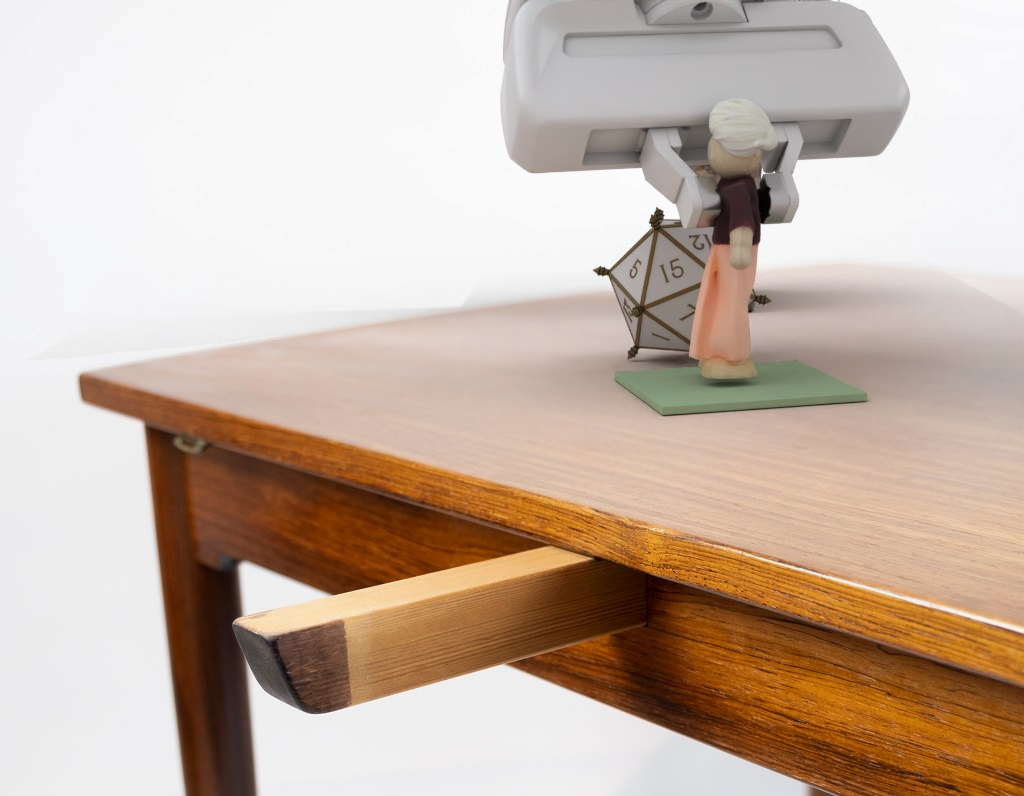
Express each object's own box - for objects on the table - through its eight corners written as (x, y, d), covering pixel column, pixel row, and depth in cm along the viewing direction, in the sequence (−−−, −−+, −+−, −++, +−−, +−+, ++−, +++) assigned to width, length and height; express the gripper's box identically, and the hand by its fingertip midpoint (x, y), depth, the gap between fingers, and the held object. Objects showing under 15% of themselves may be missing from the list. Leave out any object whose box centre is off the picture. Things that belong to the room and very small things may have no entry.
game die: (653, 421, 87) (606, 269, 89) (795, 365, 85) (743, 211, 87) (613, 367, 79) (562, 201, 81) (769, 304, 77) (712, 135, 79)
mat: (797, 367, 81) (797, 359, 80) (867, 401, 71) (867, 392, 71) (614, 379, 79) (614, 372, 79) (662, 415, 70) (662, 406, 70)
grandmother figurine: (674, 361, 79) (681, 98, 74) (746, 360, 79) (759, 97, 74) (704, 388, 71) (715, 98, 67) (784, 385, 72) (800, 97, 67)
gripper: (839, 46, 82) (915, 249, 77) (472, 58, 77) (527, 274, 72) (883, -54, 76) (967, 158, 71) (489, -47, 72) (549, 180, 67)
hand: (742, 217), depth 72 cm, fingers closed on grandmother figurine, 2 cm apart
